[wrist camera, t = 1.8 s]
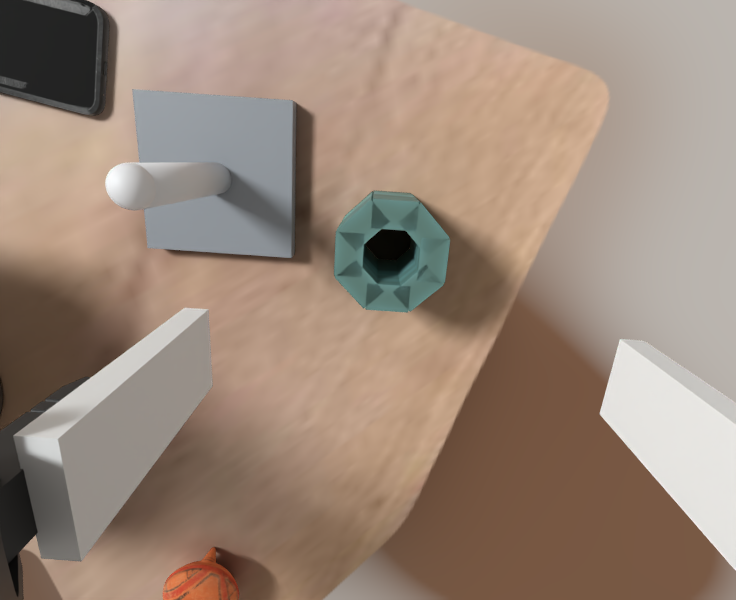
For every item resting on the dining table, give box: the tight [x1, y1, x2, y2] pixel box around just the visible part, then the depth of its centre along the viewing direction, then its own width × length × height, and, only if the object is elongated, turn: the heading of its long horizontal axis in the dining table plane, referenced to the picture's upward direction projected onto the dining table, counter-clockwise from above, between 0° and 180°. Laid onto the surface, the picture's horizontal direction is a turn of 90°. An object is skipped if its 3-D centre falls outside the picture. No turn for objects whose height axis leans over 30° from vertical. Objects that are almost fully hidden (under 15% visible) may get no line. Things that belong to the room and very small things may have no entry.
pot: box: [163, 547, 239, 600], centre depth 46 cm, size 8×8×7 cm
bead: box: [334, 191, 450, 312], centre depth 32 cm, size 8×8×8 cm
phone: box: [0, 0, 109, 116], centre depth 32 cm, size 8×1×15 cm
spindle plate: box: [105, 89, 296, 258], centre depth 28 cm, size 12×12×15 cm
